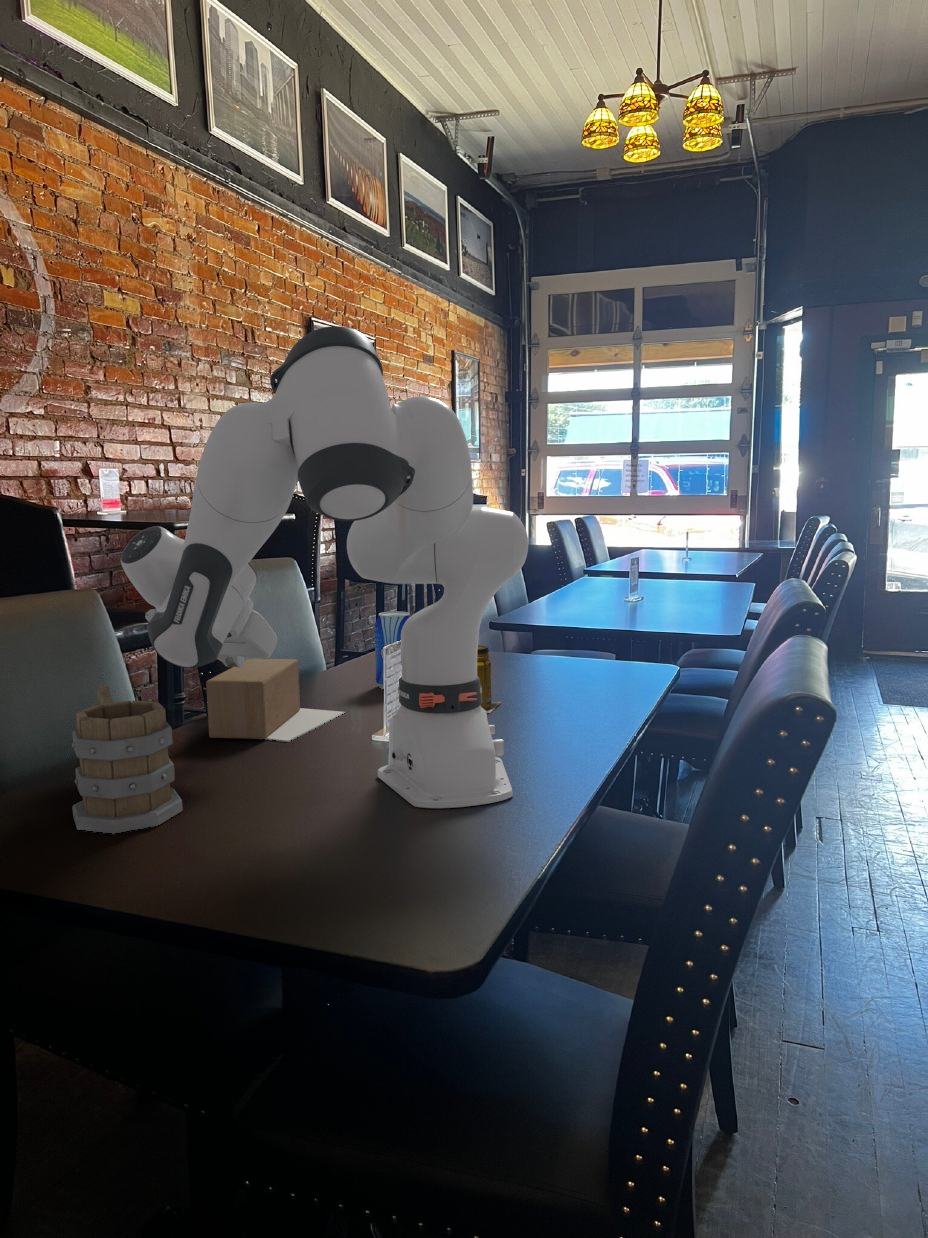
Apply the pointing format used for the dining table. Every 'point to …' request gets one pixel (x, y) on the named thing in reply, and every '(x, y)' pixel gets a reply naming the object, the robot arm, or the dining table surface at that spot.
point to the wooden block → (253, 698)
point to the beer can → (387, 636)
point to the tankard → (123, 766)
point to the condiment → (485, 678)
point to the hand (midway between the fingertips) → (236, 663)
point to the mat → (302, 724)
